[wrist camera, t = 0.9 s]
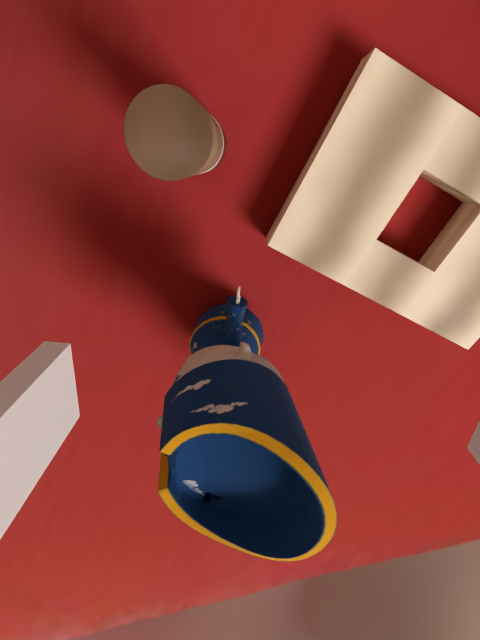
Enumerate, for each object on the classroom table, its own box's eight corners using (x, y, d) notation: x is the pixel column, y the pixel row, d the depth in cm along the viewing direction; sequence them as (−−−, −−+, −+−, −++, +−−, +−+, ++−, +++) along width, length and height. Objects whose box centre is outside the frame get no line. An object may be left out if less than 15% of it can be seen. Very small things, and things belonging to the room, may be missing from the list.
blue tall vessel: (197, 255, 31) (123, 393, 13) (303, 269, 31) (376, 424, 13) (188, 377, 36) (126, 596, 18) (278, 388, 37) (305, 614, 19)
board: (266, 237, 30) (267, 245, 27) (361, 59, 25) (375, 47, 22) (450, 334, 34) (468, 349, 31) (569, 195, 28) (604, 200, 25)
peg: (165, 156, 28) (111, 156, 17) (186, 102, 26) (140, 63, 15) (212, 182, 28) (189, 197, 18) (235, 130, 27) (225, 112, 16)
